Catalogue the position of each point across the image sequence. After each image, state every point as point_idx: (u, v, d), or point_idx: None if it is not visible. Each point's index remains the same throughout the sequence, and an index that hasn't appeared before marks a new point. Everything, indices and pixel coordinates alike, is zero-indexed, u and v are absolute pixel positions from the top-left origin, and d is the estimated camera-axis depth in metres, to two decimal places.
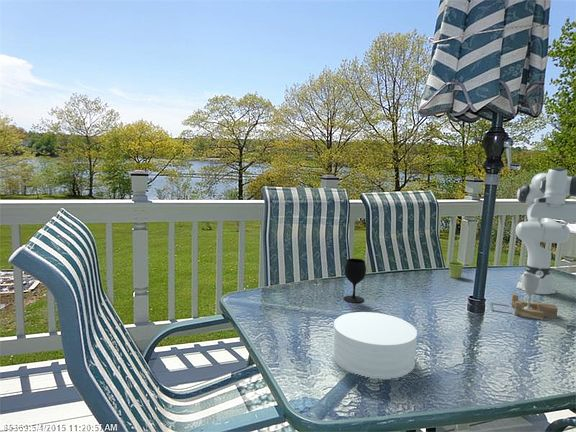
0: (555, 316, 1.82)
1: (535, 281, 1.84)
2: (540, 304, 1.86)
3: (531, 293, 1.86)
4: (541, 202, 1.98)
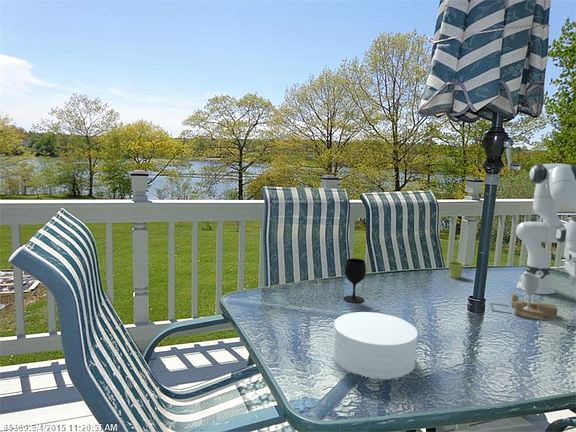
0: (555, 316, 1.82)
1: (535, 281, 1.84)
2: (540, 304, 1.86)
3: (531, 293, 1.86)
4: None
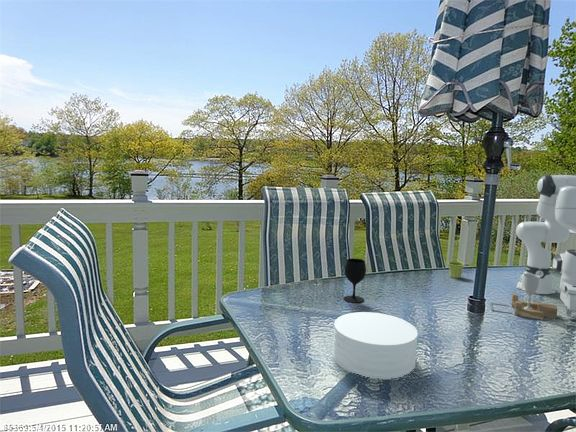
0: (555, 316, 1.82)
1: (535, 281, 1.84)
2: (540, 304, 1.86)
3: (531, 293, 1.86)
4: None
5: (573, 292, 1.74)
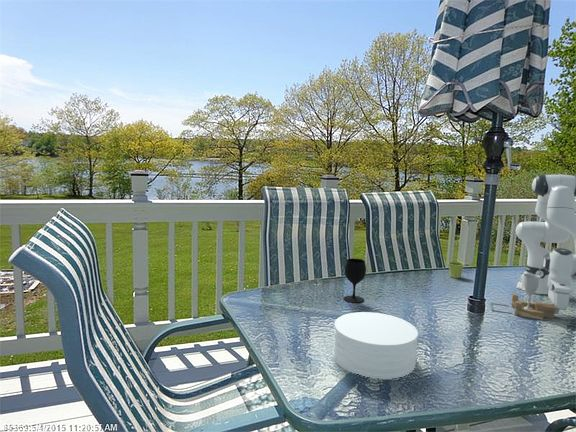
0: (553, 315, 1.82)
1: (535, 281, 1.84)
2: (538, 303, 1.87)
3: (531, 293, 1.86)
4: None
5: (560, 290, 1.75)
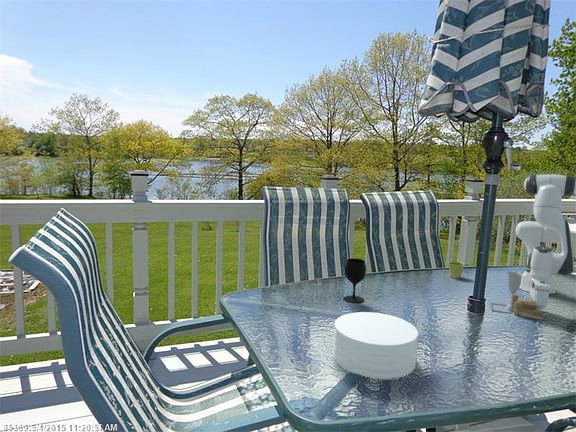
0: None
1: (517, 279, 1.87)
2: (519, 301, 1.89)
3: (514, 291, 1.89)
4: None
5: (540, 287, 1.78)
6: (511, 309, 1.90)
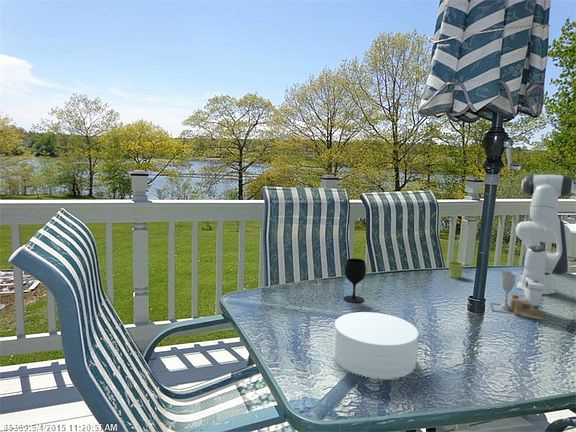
0: None
1: (511, 278, 1.88)
2: (513, 300, 1.90)
3: (508, 290, 1.90)
4: None
5: (533, 287, 1.79)
6: (505, 308, 1.91)
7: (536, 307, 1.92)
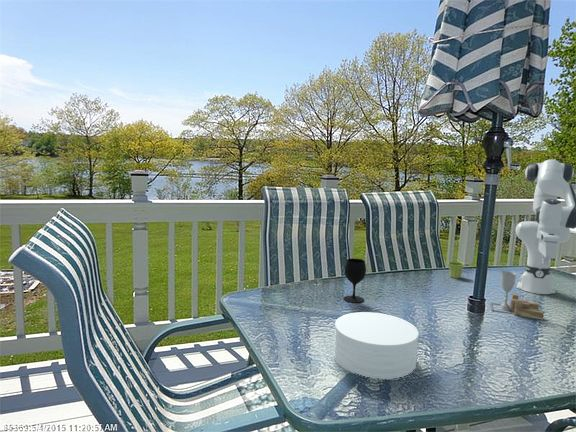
0: None
1: (511, 278, 1.88)
2: (513, 300, 1.90)
3: (508, 290, 1.90)
4: None
5: (549, 239, 1.75)
6: (505, 308, 1.91)
7: (536, 307, 1.92)
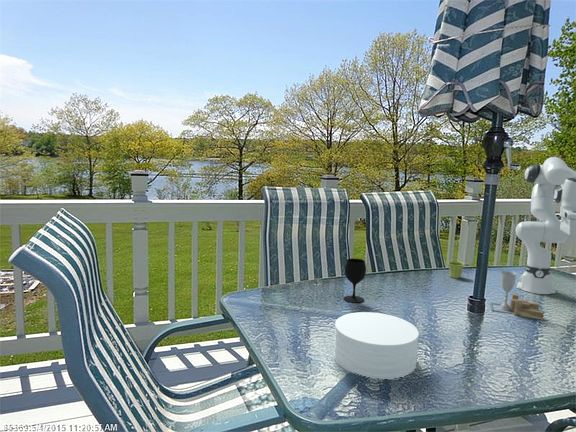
0: None
1: (511, 278, 1.88)
2: (513, 300, 1.90)
3: (508, 290, 1.90)
4: None
5: (573, 216, 1.75)
6: (505, 308, 1.91)
7: (536, 307, 1.92)
